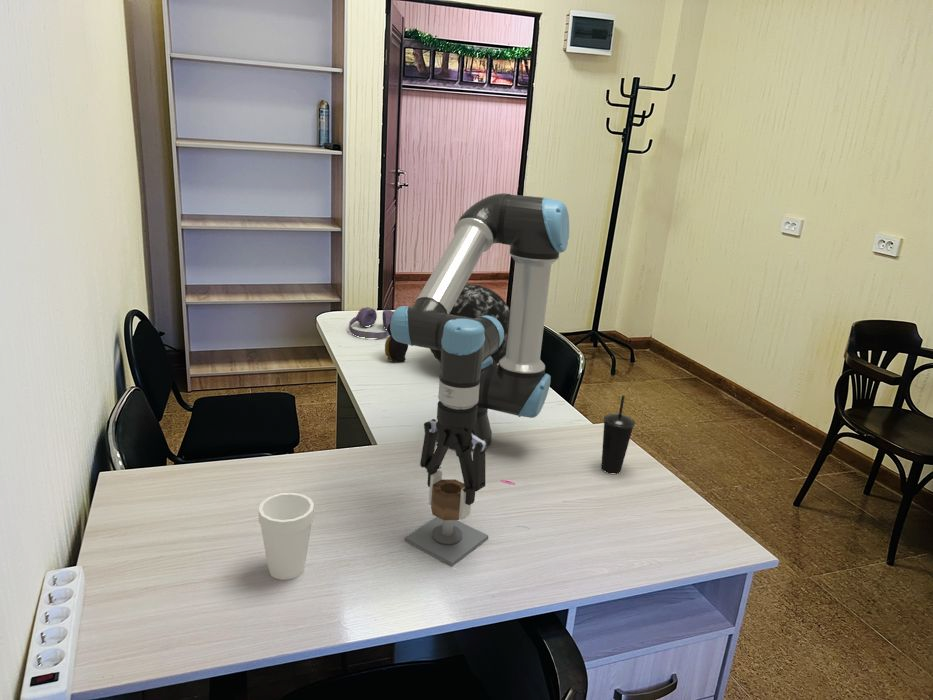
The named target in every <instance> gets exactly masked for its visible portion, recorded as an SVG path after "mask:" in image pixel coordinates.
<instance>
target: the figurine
mask: <svg viewBox="0 0 933 700" xmlns="http://www.w3.org/2000/svg"><path fill="white" fill-rule="evenodd" d="M390 324H391V323H389V325H388V327H387V330H386V332H387V331H388V333H389V336H388V337H387V338H386V340H385V344H384V353H385V355H386V357H387V360H388V359H389V360H388V361H390V362H395V363H396V362H397V363H401V362H405V361H406V354H407V352H408V349H409V345H408V344H404V343H401V342H397V341H395V340H394V339H393V337H392V334H391V330H390Z"/></svg>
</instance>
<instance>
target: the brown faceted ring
mask: <svg viewBox="0 0 933 700" xmlns="http://www.w3.org/2000/svg"><path fill="white" fill-rule="evenodd" d="M464 487H465V485H464V482H463V481H460V480H457V479H451V478H450V479H445V478H444V479H442V480H440V481H438V482H436V483H435V484H433V486H432V499H431V505H430V508H431V515H432V516H434V517H438V518H440V519H442V520H458V521H460V519H459V510H460V499H461V489H462V488H464Z"/></svg>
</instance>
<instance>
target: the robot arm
mask: <svg viewBox="0 0 933 700" xmlns="http://www.w3.org/2000/svg"><path fill="white" fill-rule="evenodd" d="M453 235H454V236H453V238H452V239H451V241H450V243H449V244H448V246H447V248H446V249H445V250H444V253H443V254H442V256H441V257H440V259H439V261H438V262H437V265H436V266H435V268H434V270H433V271H432V272H431V274H430V277H429V278H428V279H427V282H426V283H425V284H424V287H423V288H422V289H421V291H420V292H419V294H418V297H417V298H416V300H415V302H414V303H413V304H412V306H410V305H400V306H399V307H397V308H395V310H393V311H394V313H393V315H392V319H391V324H390V330H391V334H392V337H393V339H394V340H395V341H397V342H401V343H404V344H408V346H411V347H418V348H419V347H420V348H423V349H424V348H425V349H429V350H430V349H435V350H440V351H441V363H440V369H439V370H440V371H439V382H438V383H439V384H438V385H439V386H438V394H437V395H438V396H437V397H438V400H439V401H437V408H436V419H435V418H433V419H431V420H428V421H425V422H424V423H423V427H424V428H423V429H424V438H423V444H422V451H421V457H420V461H419V466H420V467H421V468H423V469H426V472H427V484H426V485H427V487H428V488H429V493H428V494H429V495H428V505H430V506H431V499H432V486H433V484H435V483H436V482H438V481H440V480H442V478H443V471H442V470H439V469H442V467H441V465H442V463H443V460H444V458H445V456H446V454H447V451H448V450H449V449H451V450H454V451H455V455H456V457H457V458H458V461H459V465H460V471H461V475H462V479H463V480H462V482H463V483H464V485H465V487H464V488H462V489H461V499H460V510H459V521H460V520H461V521H463V520H465V519H466V518H467V517H469V516H470V515H471V510H472V509H471V507H472V505H473V503H474V502H475V500H476V499H475V498H476V492H479V491H480V490H481V489H483V488H485V487H486V451H487V448H488V447H489V446H490V444H491V443H492V439H493V438H492V436H493V431H492V428H491V424H490V420H489V416H488V411H489V410H492V411H496V412H500V413H504V414H508V415H514V416H518V417H519V418H520V417H523V418H529V419H534V418H536V417H537V416H539V414H540V413H541V411H542V409H543V407H544V404H545V401H546V400H547V397H548V394H549V390H550V385H551V379H552V378H551V377H552V376H551V375H550V374H548V373H545V372H546V371H545V370H546V365H545V363H544V362H543V361H542V360H541V354H542V353H541V351H542V346H543V344H542V343H543V335H544V328H545V320H546V312H547V303H548V297H549V296H548V295H549V287H550V280H551V279H550V278H551V272H552V271H551V268H552V265H554V263H555V262H557V261H558V260H559V257H560V253H564V252H566V251H567V248H568V244H569V239H570V217H569V211H568V207H567V206H566V204H565V203H564V202H563V201H561V200H558V199H552V198H549V197H542V196H541V197H540V196H539V197H538V196H531V195H530V196H528V195H518V194H511V193H503V192H502V193H496V194H492V195H488V196H486V197H484V198H482V199H480V200H479V201H477V202H475V203H474V204H473V205H471V206H470V207H468V209H466V210H465V212H463V214H462V215H461V216H460V217H459V218H458V220H457V222H456V223H455V225H454V228H453ZM493 244H502V245H508V246H510V247H509V256H511V258H512V259H513V261H514V271H513V281H512V289H511V298H510V307H509V309H510V317H509V327H508V337H507V347H506V355H505V356H504V357H503V358H501V359H500V360H499V363H498V364H493V359H492V357H491V356H490V355H492V354H494V353H495V352H496V351H497V350H498V348H499V346H500V345H501V344H502V342H503V339H504V330H503V327H502V325H501V323H500V322H499V321H498V320H497V319H495V318H494V317H491V316H480V317H477V318H475V319H473V318H468V317H462V316H456V315H450V312H451V310H452V308H453V306H454V304H455V303H456V301H457V299H458V297H459V295H460V293H461V292H462V290H463V288H464V286H465V285H466V284H467V282H468V280H469V279H470V278H471V275H472V274H473V272H474V271H475V268H476V266H477V264H478V262H479V261H480V258H481V256H482V255H483V253H485V252H487V251H488V250H490V249H491V247H492V246H493Z"/></svg>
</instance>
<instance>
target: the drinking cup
mask: <svg viewBox="0 0 933 700" xmlns="http://www.w3.org/2000/svg"><path fill="white" fill-rule="evenodd" d="M625 397H626V396H625V395H622V396H621V399H620V405H619V410H618V411H619V412H618V413H609V414H606V415H604V416H603V419H602V420H603V422H604V423H603V433H602V434H603V436H602V451H601V453H602V454H601V470H602V469H603V470H604V471H606V472H608V473H607V474H609V473H616V474H615V475H618V474H620V473H621V472H622V467H623V465H624V461H625V457H626V453H627V450H628V446H629V443H630V440H631V435H632V432H633V429H634V427H635V425H636V422H635V420H634V419H633V418H631V417H630V416H627V415H626V414H623V410H624V409H623V408H624V404H625ZM603 470H602V471H603ZM604 471H603V472H604ZM620 471H621V472H620ZM606 472H605V473H606ZM619 472H620V473H619ZM617 473H618V474H617Z"/></svg>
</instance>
